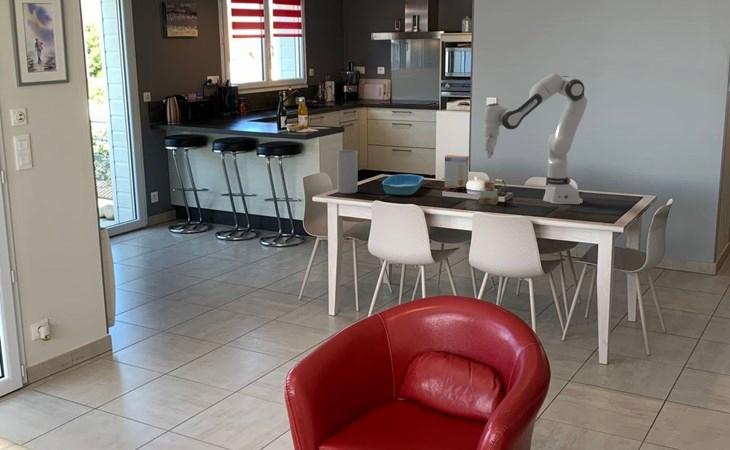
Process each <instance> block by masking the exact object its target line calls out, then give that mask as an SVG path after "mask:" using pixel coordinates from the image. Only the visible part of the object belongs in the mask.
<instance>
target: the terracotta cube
mask: <svg viewBox="0 0 730 450" xmlns="http://www.w3.org/2000/svg"><path fill="white" fill-rule="evenodd" d="M495 183H496V182H495V180H488V179H487V180H485V181H484V188H485V189H484V191H494V189H495V187H496V186H495V185H496V184H495Z"/></svg>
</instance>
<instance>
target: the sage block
mask: <svg viewBox="0 0 730 450" xmlns="http://www.w3.org/2000/svg"><path fill="white" fill-rule="evenodd" d="M484 189H485V187H484V188H482V189H481V190H480V194H479V197H483V198H493V199H494V198H495V197H496V196H497V195H498V189H497V188H494V191H484Z"/></svg>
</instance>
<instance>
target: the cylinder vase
mask: <svg viewBox="0 0 730 450" xmlns="http://www.w3.org/2000/svg"><path fill="white" fill-rule="evenodd" d="M358 154H359V153H358V151H357V150H353V149H344V150H343V149H340V150H338V151H336V172H337V173H336V176H337V177H336V178H337V179H336V180H337V181H336V184H337V185H336V190H337V193H340V194H345V195H346V194H348V195H349V194H355V193H357V192H358V187H359V186H358V183H359V182H358V170H359V168H358V156H359V155H358Z"/></svg>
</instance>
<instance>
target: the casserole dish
mask: <svg viewBox="0 0 730 450" xmlns="http://www.w3.org/2000/svg"><path fill="white" fill-rule="evenodd" d="M424 178H425V177H424V176H422V175H416V174H409V173H408V174H392V175H390V176H388V177H387V178H385V179H384V180H383V181H382V182H381V184H382V186H383V191H384V192H385V193H386V194H387V195H396V196H398V195H399V196H412V195H413V194H415V193H416V192H417V191H418V190H419V189H420V188H421V186H422V185H423V182H424V180H425V179H424Z"/></svg>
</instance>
